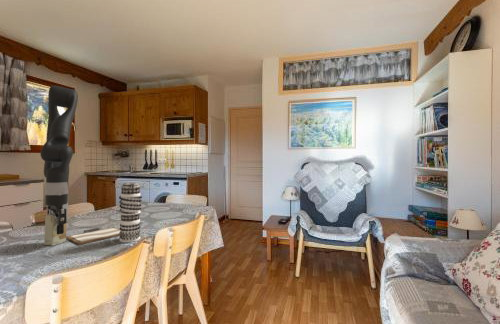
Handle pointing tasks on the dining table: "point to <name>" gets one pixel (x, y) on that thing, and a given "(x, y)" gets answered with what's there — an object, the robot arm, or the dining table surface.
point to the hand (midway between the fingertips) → (56, 232)
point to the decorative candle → (130, 212)
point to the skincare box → (53, 231)
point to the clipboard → (94, 235)
